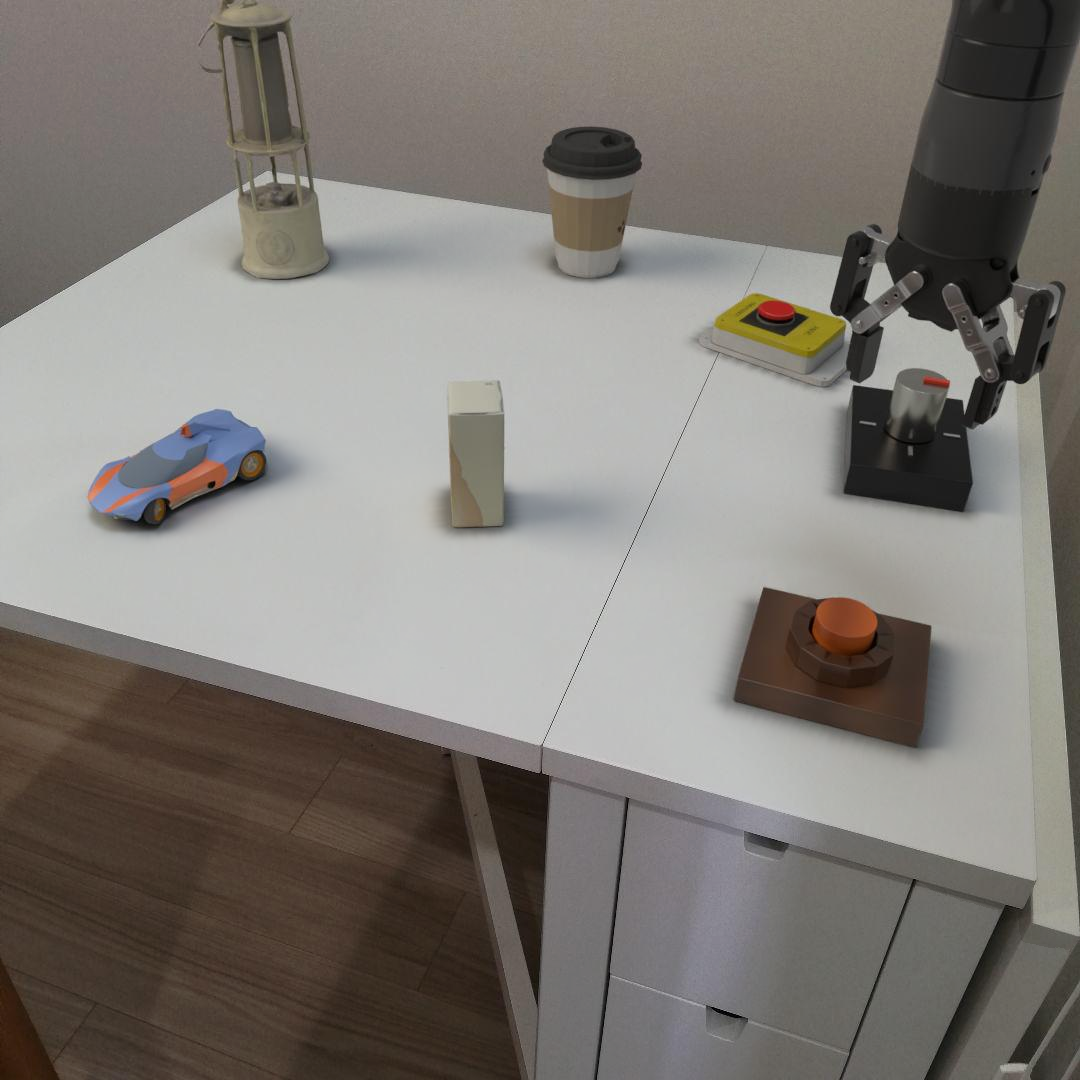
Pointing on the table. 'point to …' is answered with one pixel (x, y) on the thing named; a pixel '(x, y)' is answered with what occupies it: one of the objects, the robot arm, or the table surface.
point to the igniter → (836, 671)
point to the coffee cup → (590, 196)
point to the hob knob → (916, 405)
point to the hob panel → (905, 455)
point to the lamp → (269, 144)
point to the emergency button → (781, 339)
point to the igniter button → (844, 626)
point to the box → (476, 452)
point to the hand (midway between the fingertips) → (915, 400)
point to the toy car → (179, 467)
